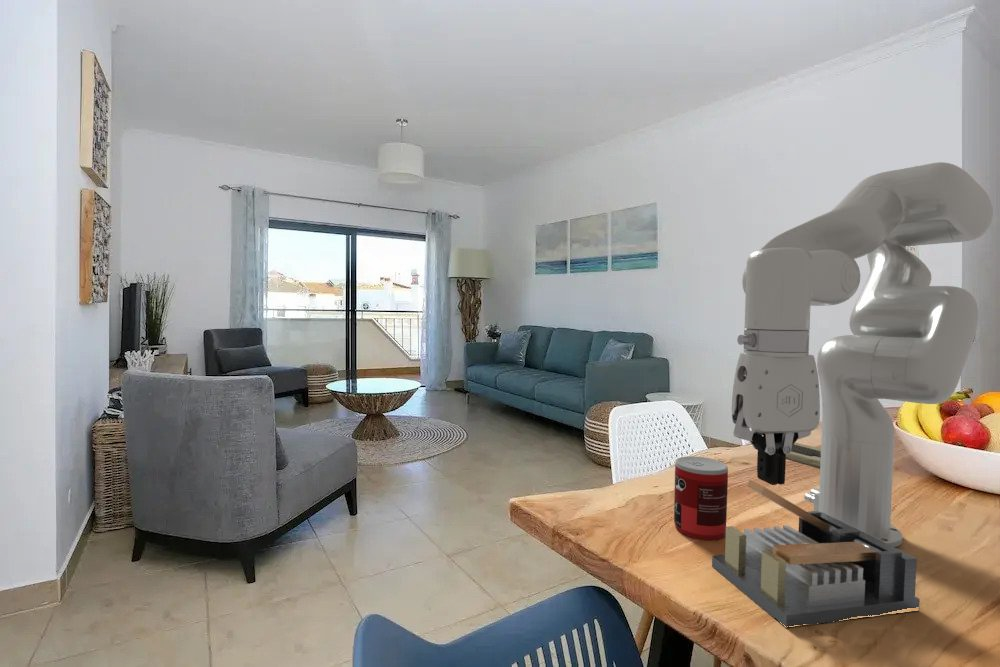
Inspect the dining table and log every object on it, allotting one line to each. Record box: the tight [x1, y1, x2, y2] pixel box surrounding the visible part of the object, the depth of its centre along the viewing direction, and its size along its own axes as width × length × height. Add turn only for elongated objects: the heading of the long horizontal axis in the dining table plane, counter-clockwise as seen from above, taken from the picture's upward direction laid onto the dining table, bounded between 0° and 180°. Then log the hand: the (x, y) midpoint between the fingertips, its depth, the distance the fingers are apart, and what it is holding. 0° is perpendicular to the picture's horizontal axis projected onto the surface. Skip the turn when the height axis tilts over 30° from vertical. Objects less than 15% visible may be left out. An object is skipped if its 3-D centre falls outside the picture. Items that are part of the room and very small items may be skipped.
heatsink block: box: [711, 510, 921, 627], centre depth 66 cm, size 14×18×7 cm
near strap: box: [773, 539, 882, 565], centre depth 62 cm, size 4×13×1 cm, turn 101°
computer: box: [786, 442, 821, 469], centre depth 121 cm, size 16×8×3 cm, turn 27°
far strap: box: [746, 479, 837, 536], centre depth 69 cm, size 4×13×1 cm, turn 101°
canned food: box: [673, 455, 729, 541], centre depth 83 cm, size 8×8×11 cm
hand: (770, 481), depth 68 cm, fingers closed
